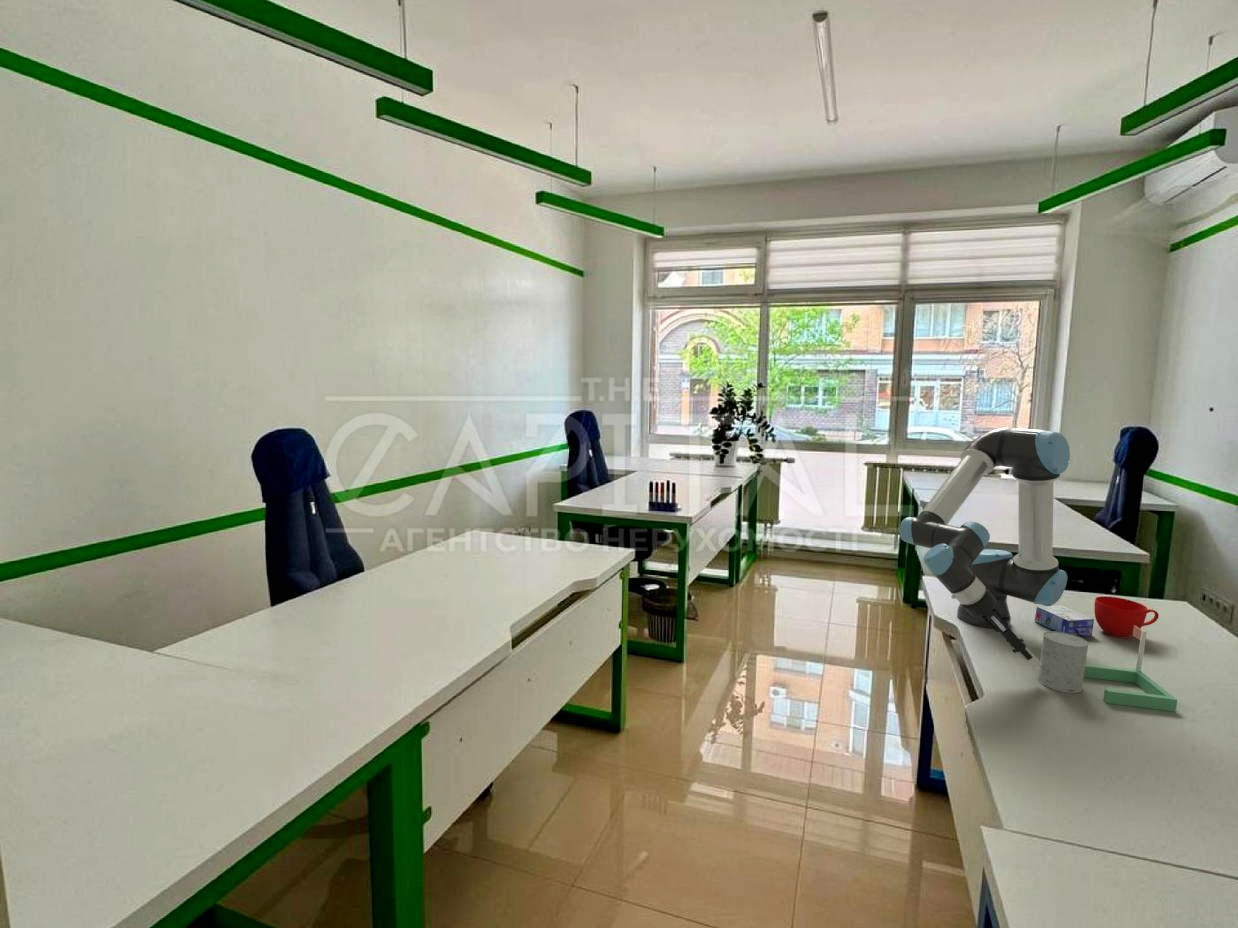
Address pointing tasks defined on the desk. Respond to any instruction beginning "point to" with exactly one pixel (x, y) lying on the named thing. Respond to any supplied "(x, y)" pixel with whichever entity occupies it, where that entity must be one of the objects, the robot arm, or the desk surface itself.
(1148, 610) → the ceramic cup
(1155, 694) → the green angular frame
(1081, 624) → the ink cartridge box
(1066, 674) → the speckled concrete drum
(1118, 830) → the desk surface
